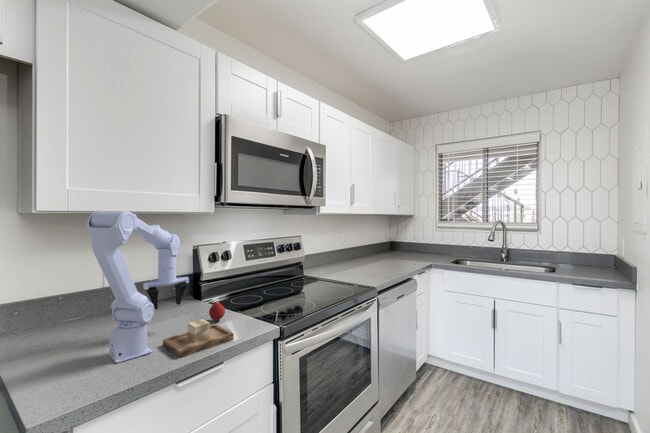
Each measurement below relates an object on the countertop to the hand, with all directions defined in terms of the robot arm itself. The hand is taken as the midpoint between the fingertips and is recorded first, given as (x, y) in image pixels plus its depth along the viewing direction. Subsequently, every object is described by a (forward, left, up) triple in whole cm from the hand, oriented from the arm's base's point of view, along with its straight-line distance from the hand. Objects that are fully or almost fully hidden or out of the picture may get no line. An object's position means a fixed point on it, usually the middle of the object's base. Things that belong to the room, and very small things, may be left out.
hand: (166, 306), depth 109 cm
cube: (+4, -16, -8) cm, 18 cm away
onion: (+18, -2, -10) cm, 20 cm away
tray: (+4, -16, -9) cm, 19 cm away
